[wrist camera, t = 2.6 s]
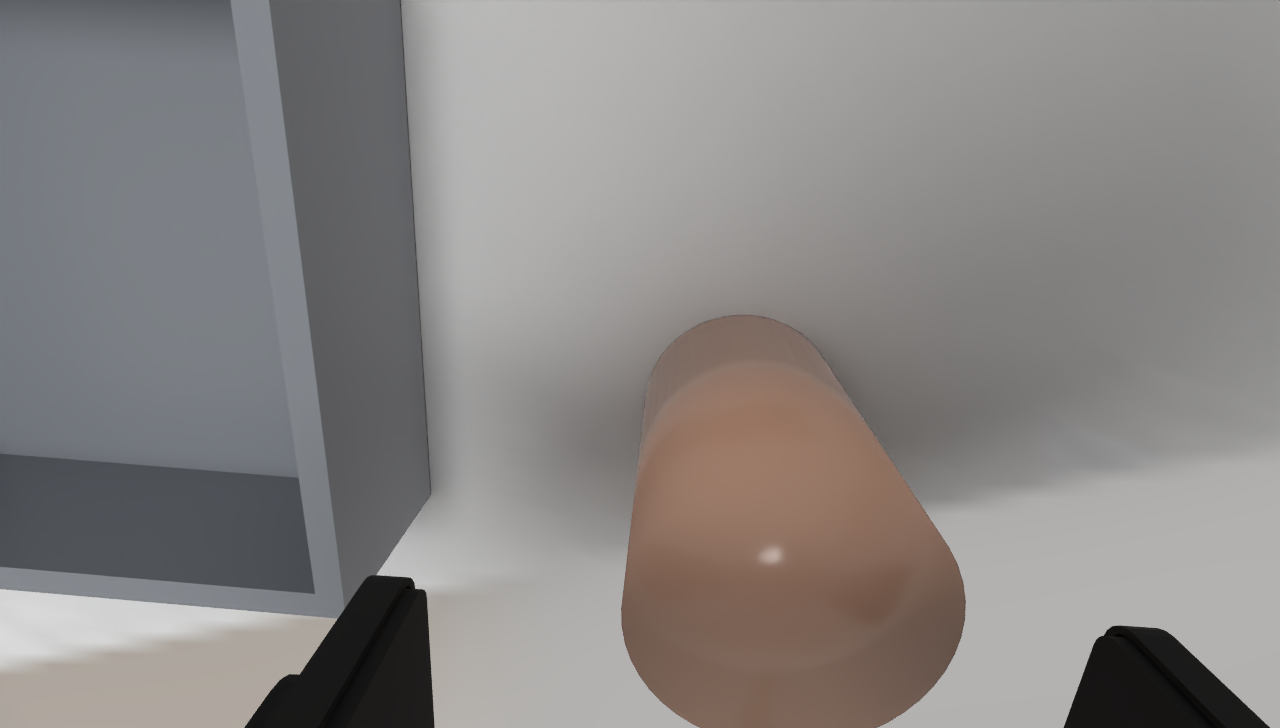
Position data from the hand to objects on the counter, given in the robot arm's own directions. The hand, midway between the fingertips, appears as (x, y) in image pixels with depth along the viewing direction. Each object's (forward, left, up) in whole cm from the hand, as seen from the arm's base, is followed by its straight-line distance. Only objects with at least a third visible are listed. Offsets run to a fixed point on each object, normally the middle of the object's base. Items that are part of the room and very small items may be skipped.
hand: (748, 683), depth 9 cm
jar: (-1, -1, -9) cm, 9 cm away
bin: (+14, -4, -9) cm, 17 cm away
